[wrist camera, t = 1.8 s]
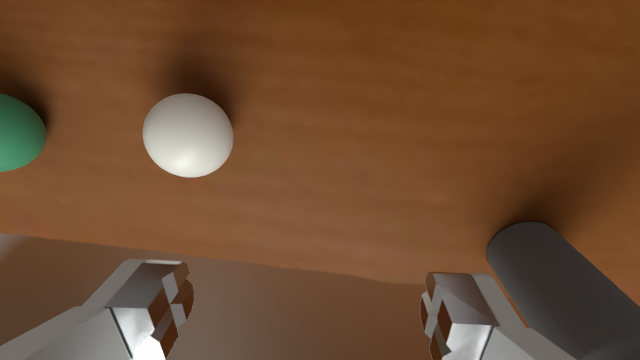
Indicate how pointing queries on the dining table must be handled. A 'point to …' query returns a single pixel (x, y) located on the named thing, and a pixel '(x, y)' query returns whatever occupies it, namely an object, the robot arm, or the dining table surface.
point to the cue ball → (188, 135)
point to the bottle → (565, 294)
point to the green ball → (19, 134)
